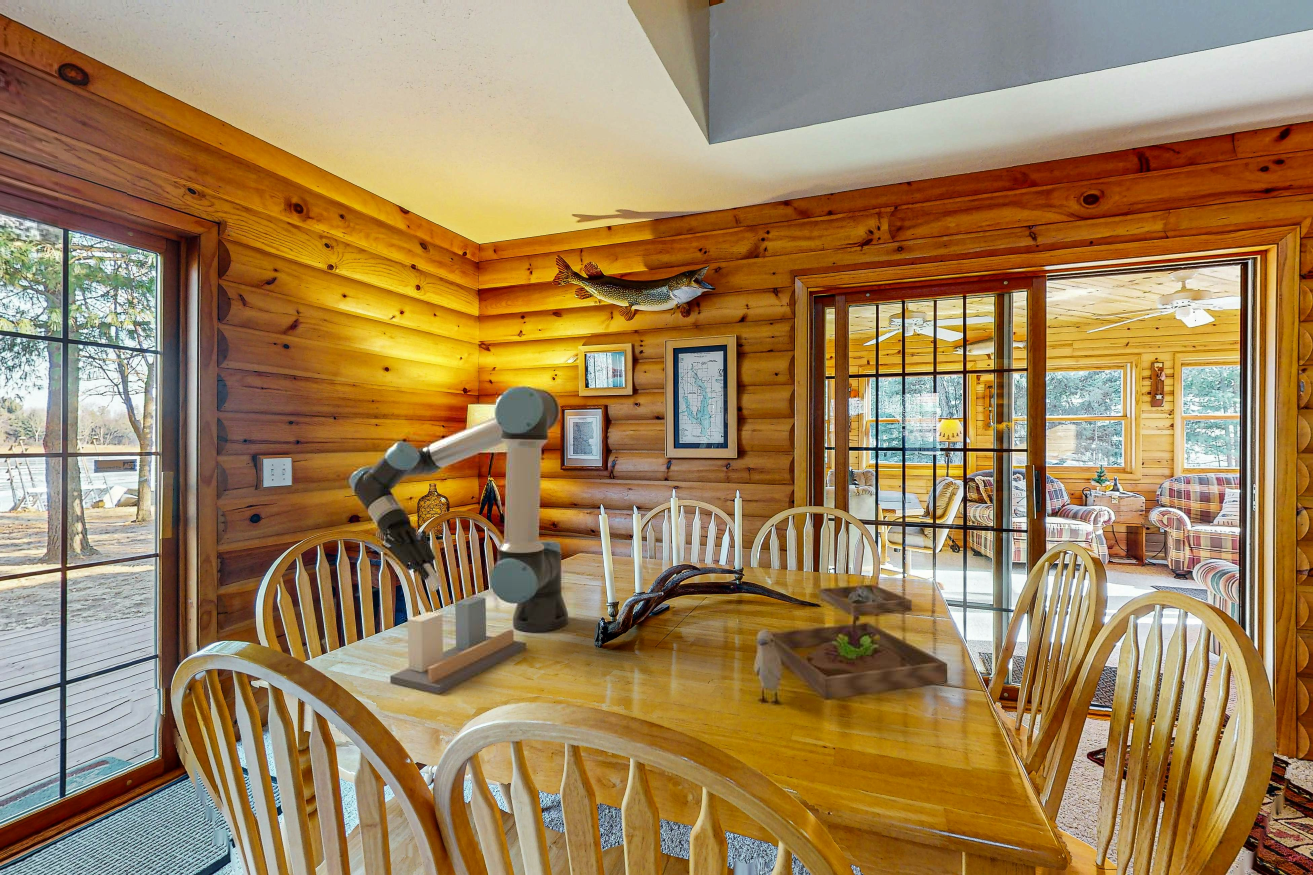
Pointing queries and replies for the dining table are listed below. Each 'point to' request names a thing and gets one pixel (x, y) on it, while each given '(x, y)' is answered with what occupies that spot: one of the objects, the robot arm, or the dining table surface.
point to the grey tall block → (470, 622)
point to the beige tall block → (425, 641)
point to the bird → (767, 664)
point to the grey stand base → (460, 664)
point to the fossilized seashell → (864, 596)
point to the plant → (853, 654)
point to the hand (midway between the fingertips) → (437, 586)
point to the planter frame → (917, 675)
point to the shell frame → (891, 605)
